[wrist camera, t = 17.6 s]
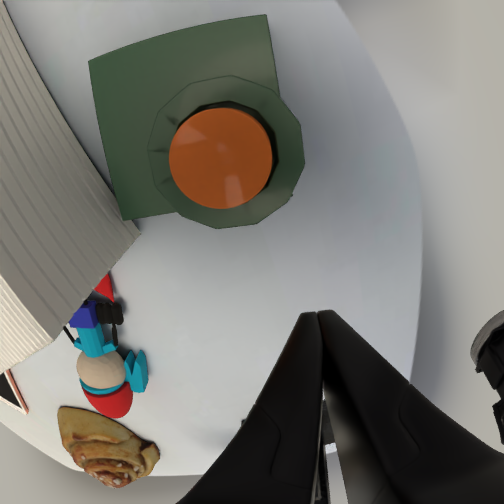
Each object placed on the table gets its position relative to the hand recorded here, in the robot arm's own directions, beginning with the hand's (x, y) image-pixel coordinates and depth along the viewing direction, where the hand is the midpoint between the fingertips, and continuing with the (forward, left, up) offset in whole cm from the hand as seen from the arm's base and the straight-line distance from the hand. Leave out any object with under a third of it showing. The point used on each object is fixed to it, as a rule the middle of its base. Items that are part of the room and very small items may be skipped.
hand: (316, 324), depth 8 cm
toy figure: (+17, +11, -12) cm, 23 cm away
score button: (+3, -3, -8) cm, 9 cm away
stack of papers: (+21, -12, -12) cm, 27 cm away
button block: (+5, -5, -12) cm, 14 cm away
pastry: (+27, +29, -12) cm, 42 cm away
